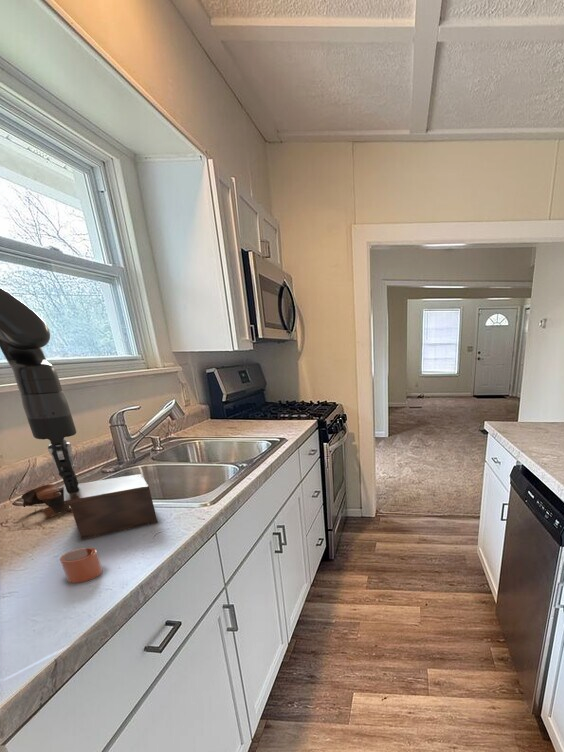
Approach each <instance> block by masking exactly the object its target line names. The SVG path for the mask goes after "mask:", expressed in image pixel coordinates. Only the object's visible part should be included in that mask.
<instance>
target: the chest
mask: <svg viewBox="0 0 564 752" xmlns="http://www.w3.org/2000/svg"><path fill="white" fill-rule="evenodd" d="M69 508H70V510H71V513H72V516H73V519H74V523H75V525H76V527H77V530H78V534H79V536H80V539H81V540H88V539H91V538H96V537H100V536H105V535H109V534H113V533H117V532H122V531H127V530H131V529H135V528H140V527H144V526H148V525H153V524H157V523H158V522H159V521H158V518H157V517H158V516H157V513H156V510H155V506H154V502H153V498H152V493H151V490H150V488H149V489H147V490H141V491H136V492H130V493H125V494H120V495H114V496H109V497H103V498H98V499H93V500H87V501H82V502H76V503H71V504H70V505H69Z"/></svg>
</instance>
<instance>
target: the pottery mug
mask: <svg viewBox="0 0 564 752" xmlns="http://www.w3.org/2000/svg"><path fill="white" fill-rule="evenodd" d="M21 499H22V500H23V502H22V507H23V508H26V507H30V506H31V507H32V506H36V505H46V506H47V507H46V508H43V509H42V510H41V512H42V513H43V514H44V515H45V517H46V518H49V517H52V516H55V515H58V514H60V513H65V512H68V511H70V510H71V507H70V504H65V503H64V490H63V486H62V487H56V486H55V485H54V484H53V483H48V484H44V485H40V486H38V487H37V486H36V487H35V488H33V489H30V490H29V491H26V492H25V493H23V494H22V495H21Z"/></svg>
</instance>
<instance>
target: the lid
mask: <svg viewBox="0 0 564 752" xmlns="http://www.w3.org/2000/svg"><path fill="white" fill-rule="evenodd" d="M62 487H63V490H64V503H65V504H71V503H76V502H82V501H87V500H93V499H98V498H103V497H109V496H114V495H120V494H125V493H130V492H136V491H141V490H147V489H150V486H149V484H148V482H147V481H146V480H145V478H144V476H143V475H142V474H141V473H138V474H131V475H124V476H120V477H112V478H107V479H101V480H94V481H88V482H81V483H78V487H79V492H76V493H68V492H67V490H66V487H65V485H64V486H62Z"/></svg>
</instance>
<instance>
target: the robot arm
mask: <svg viewBox="0 0 564 752" xmlns="http://www.w3.org/2000/svg"><path fill="white" fill-rule="evenodd" d="M50 339H51V332H50V329H49V326H48V325H47V324H46V322H45V321H44V319H42V317H40V315H39V314H38V313H37V312H35V311H34V310H33V309H32V308H31V307H29V306H27V305H26V304H25V303H24V302H22V300H19V299H18V298H17V297H15V296H14V295H12V294H11V293H10V292H9V291H7V290H5V289H3V288H2V287H1V286H0V350H1V352H2V354H3V356H4V358H5V360H6V361H7V363H8V365H9V366H10V368H11V371H12V372H13V377H14V380H15V383H16V385H17V389H18V392H19V395H20V398H21V404H22V408H23V410H24V413H25V416H26V419H27V422H28V425H29V428H30V431H31V434H32V436H33V437H34V439H36V440H49V442H50V444H48V445H47V446H48V447H47V450H48V453H49V455H50V456H51V458H52V461H53V464H54V466H55V468H57V470H58V475H59V476H60V478H62V481H63V484H64V486H65V487H66V490H67V492H68V493H76V492H79V487H78V484H79V480H78V478H77V475H76V471H75V459H74V455H73V448H72V445H71V442H68V441H67V440H66V439H65V438H69V437H73V436H75V435H76V434H77V428H76V426H75V423H74V419H73V416H72V412H71V410H70V406H69V402H68V400H67V398H66V396H65V394H64V391H63V388H62V385H61V382H60V379H59V375H58V373H57V370H56V368H55V366H54V365H52V363H50V362H48V360H47V357H46V356H45V354H44V351H43V349H42V348H44V347H45V346H47V345H48V343H49V342H50Z"/></svg>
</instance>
